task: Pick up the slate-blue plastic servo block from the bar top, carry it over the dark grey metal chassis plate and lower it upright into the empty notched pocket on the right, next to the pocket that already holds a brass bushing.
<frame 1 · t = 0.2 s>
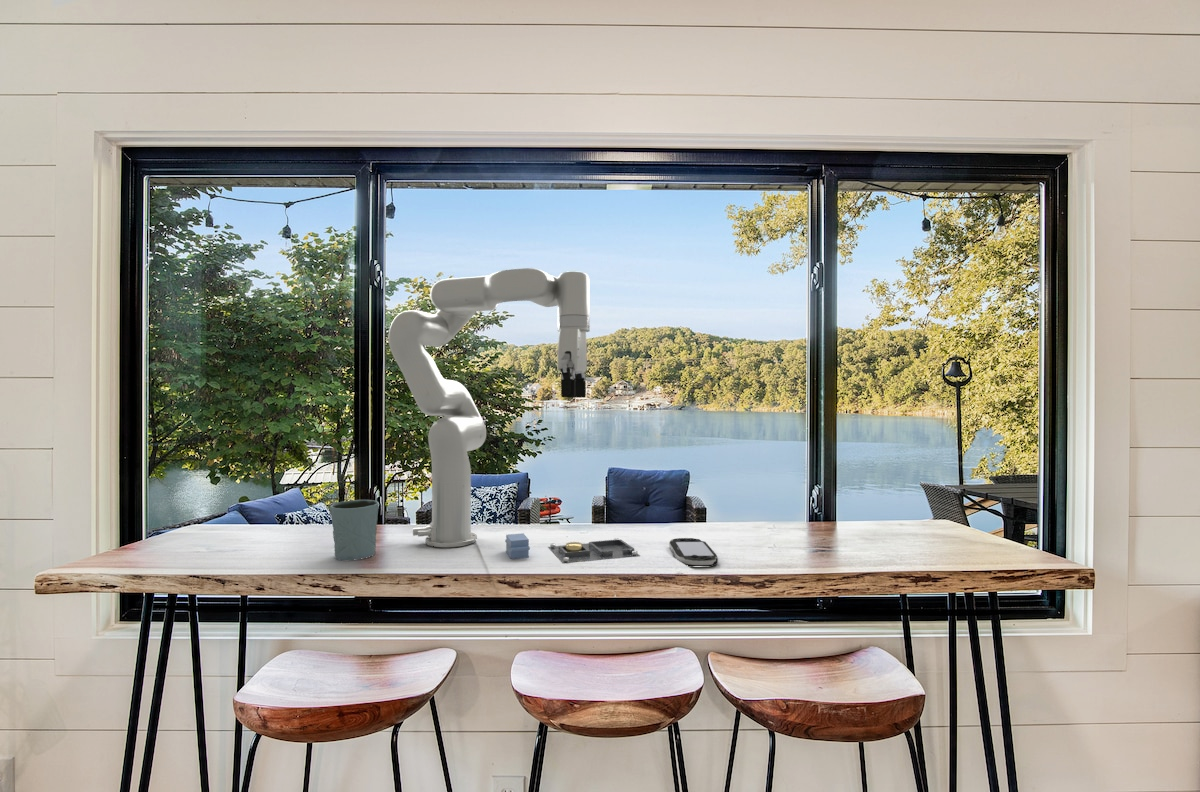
hand: (573, 397, 134), 37 cm above the table, tool pointing down, fingers open, 9 cm apart
chassis plate: (592, 555, 131), on the table
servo: (517, 559, 128), on the table
grey-green cup: (354, 556, 130), on the table
bushing: (574, 552, 129), point 1 cm above the table, touching chassis plate
gaming console: (692, 557, 131), on the table
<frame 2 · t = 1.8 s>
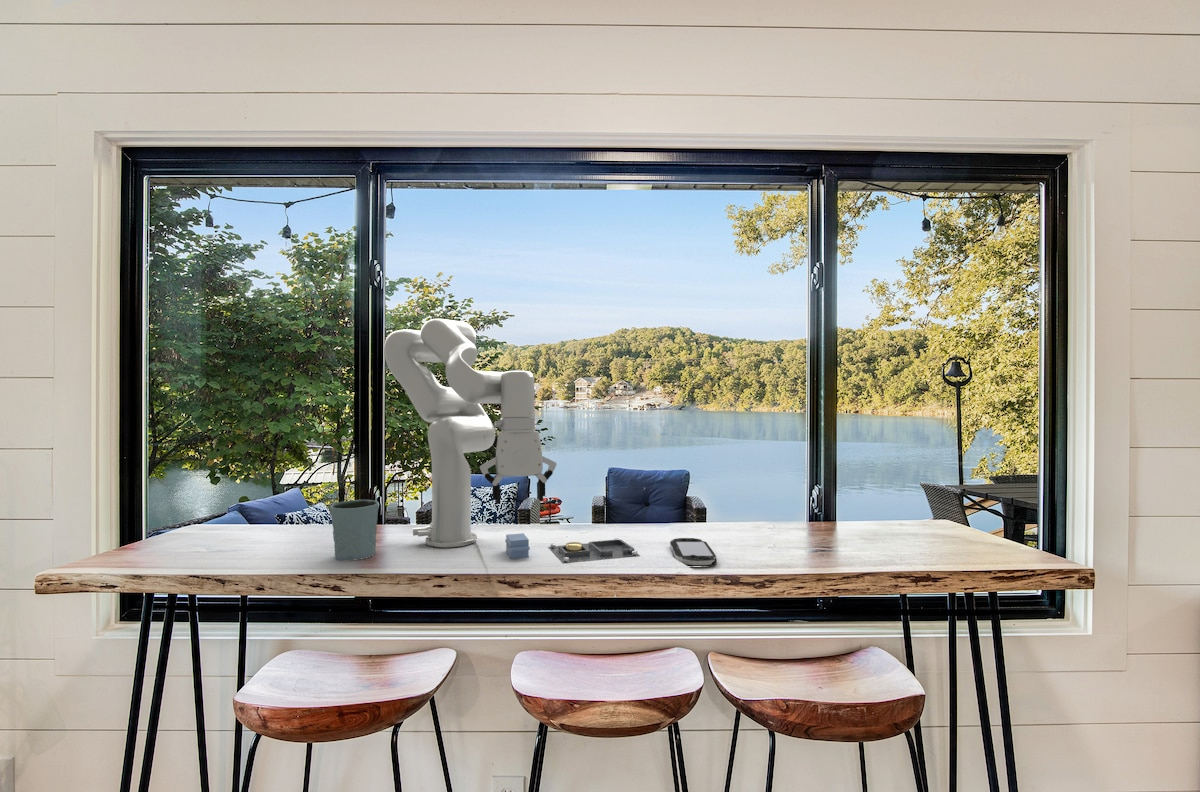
hand: (519, 501, 128), 13 cm above the table, tool pointing down, fingers open, 9 cm apart
nothing on the table moved.
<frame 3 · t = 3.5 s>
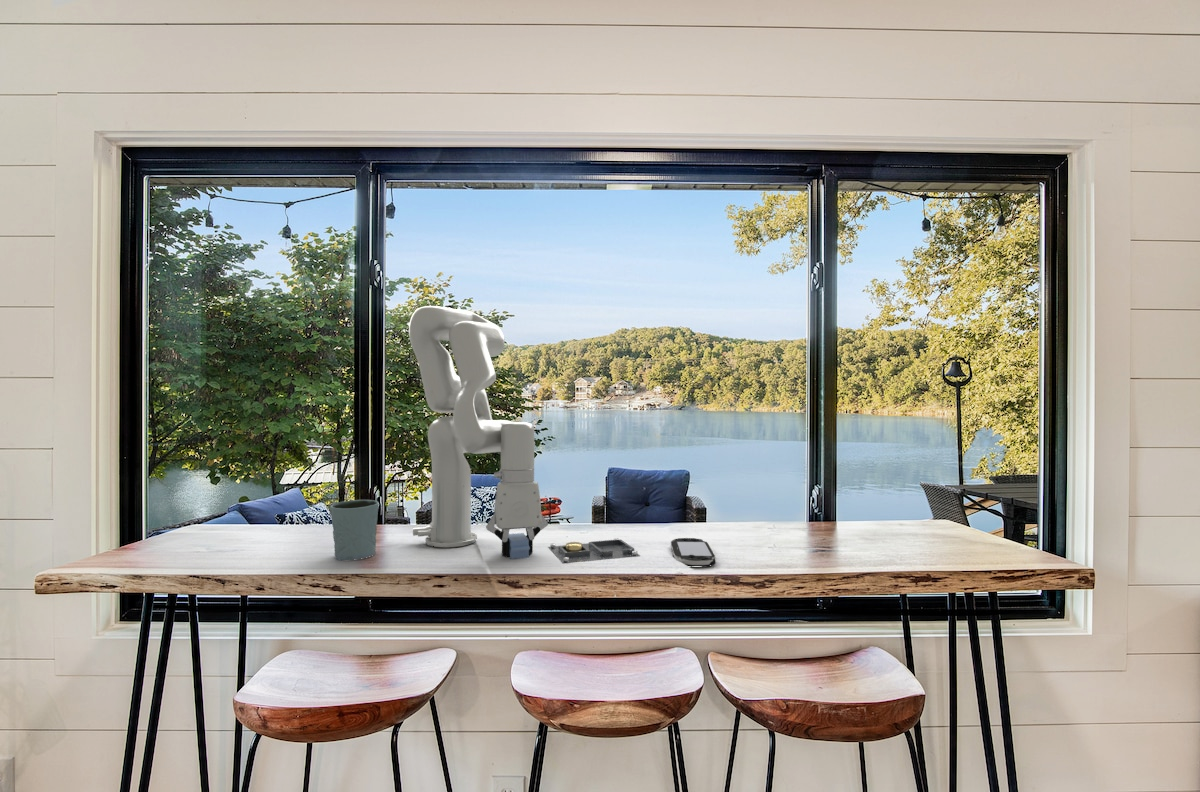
hand: (517, 556, 128), 0 cm above the table, tool pointing down, fingers closed on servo, 4 cm apart
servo: (517, 558, 128), on the table, touching gripper
everything else where it was.
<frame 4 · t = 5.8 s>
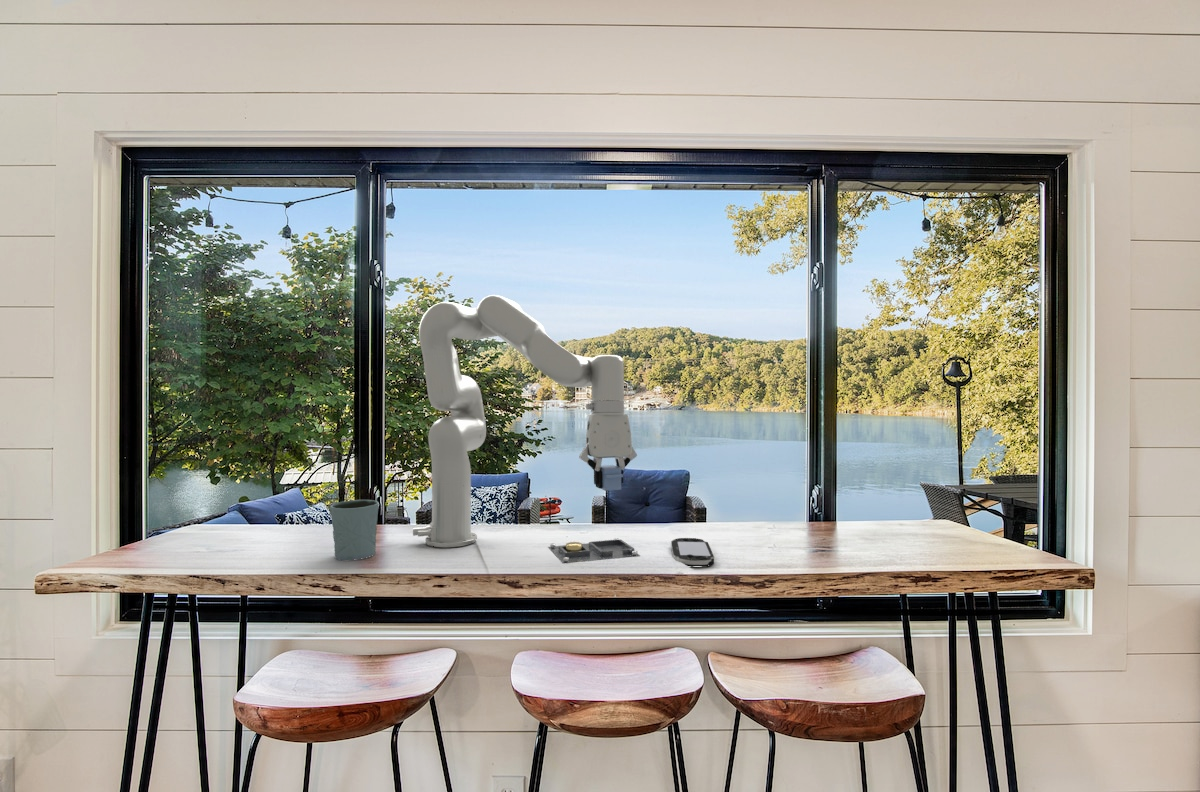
hand: (608, 486, 132), 16 cm above the table, tool pointing down, fingers closed on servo, 4 cm apart
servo: (608, 488, 132), point 15 cm above the table, touching gripper
everything else where it was.
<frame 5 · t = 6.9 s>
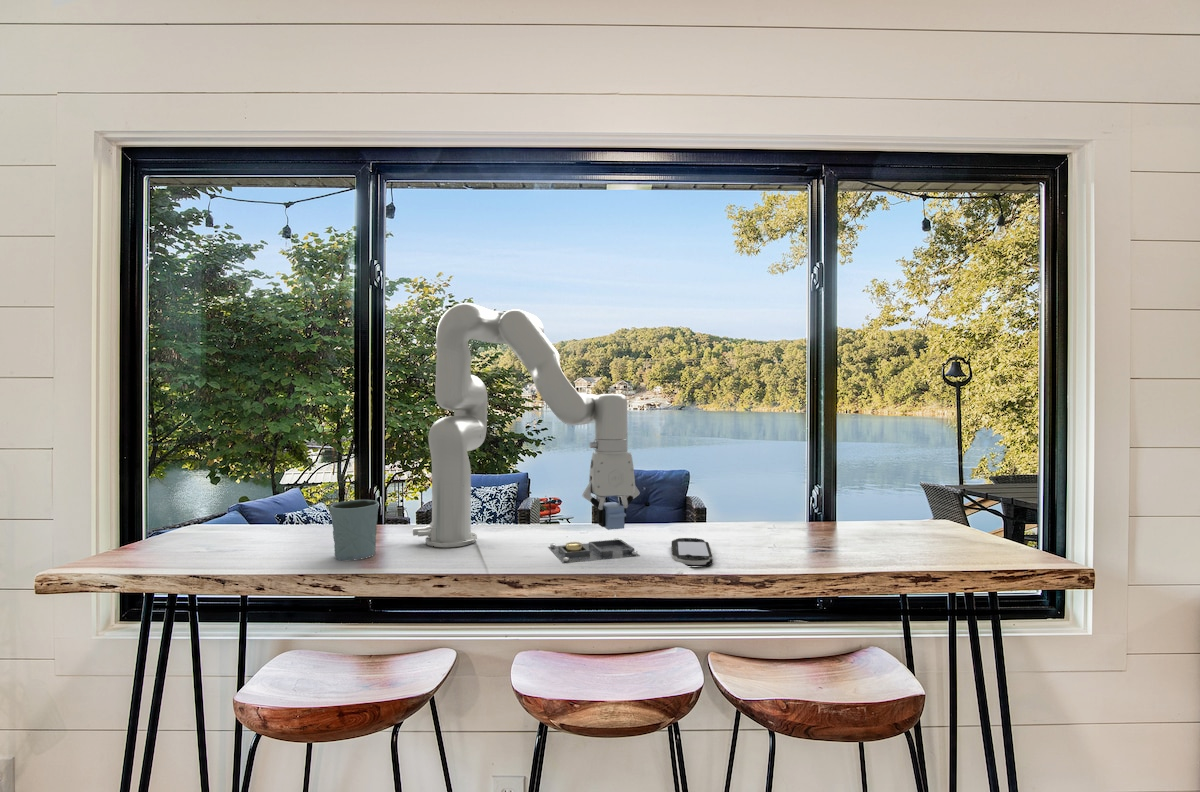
hand: (611, 524, 132), 7 cm above the table, tool pointing down, fingers closed on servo, 4 cm apart
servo: (611, 526, 132), point 6 cm above the table, touching gripper
everything else where it was.
when the fingers open (3 cm above the table, at t = 8.0 s): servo drops 1 cm, resting on chassis plate.
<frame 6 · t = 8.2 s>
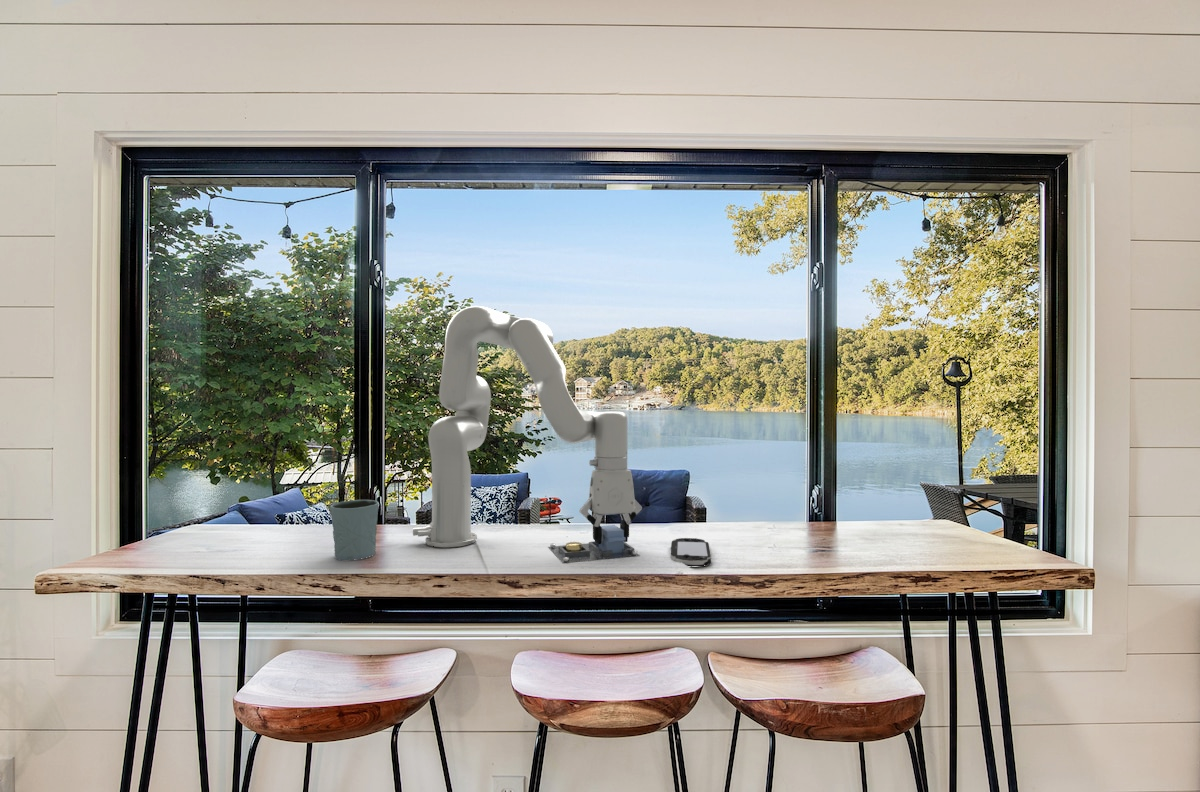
hand: (611, 540, 132), 3 cm above the table, tool pointing down, fingers open, 5 cm apart
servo: (610, 549, 132), point 1 cm above the table, touching chassis plate
everything else where it was.
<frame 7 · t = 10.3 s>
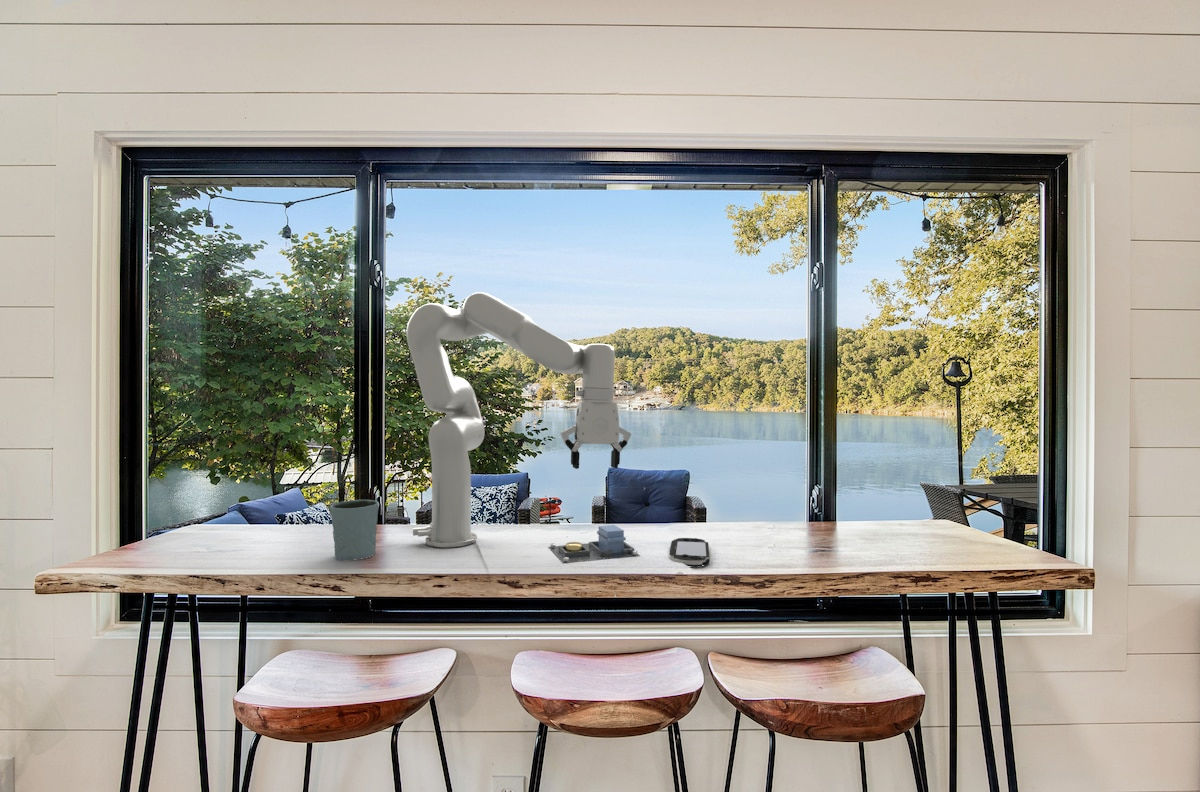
hand: (595, 467, 135), 20 cm above the table, tool pointing down, fingers open, 9 cm apart
nothing on the table moved.
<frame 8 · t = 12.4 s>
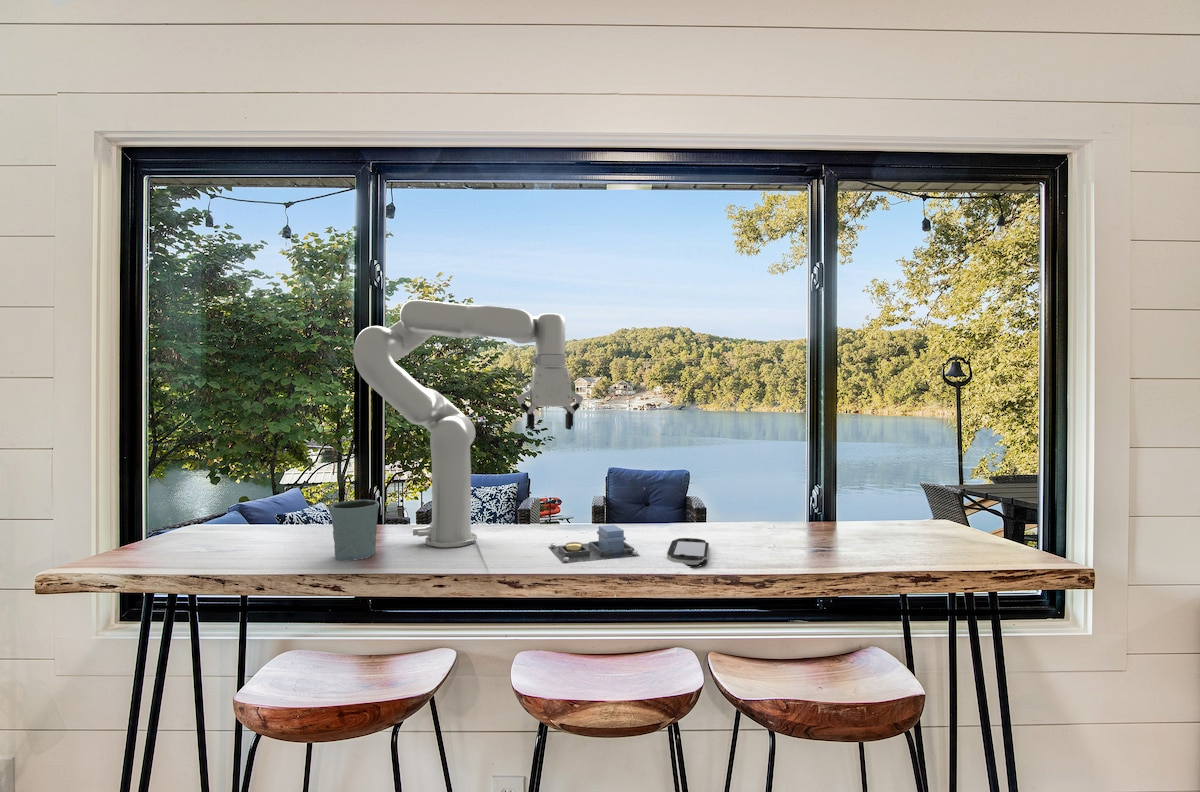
hand: (550, 429, 145), 28 cm above the table, tool pointing down, fingers open, 9 cm apart
at the end: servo 0.1 cm from the target spot on the chassis plate, point 1.0 cm above the chassis plate's base; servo tilted 0°; the gripper is holding nothing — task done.
